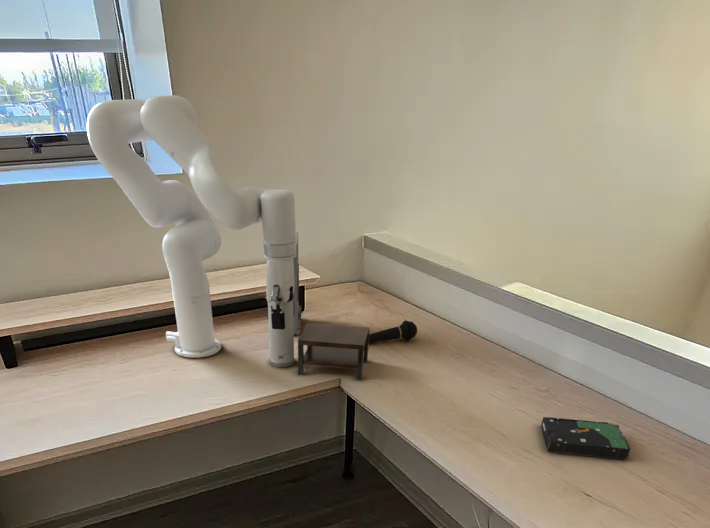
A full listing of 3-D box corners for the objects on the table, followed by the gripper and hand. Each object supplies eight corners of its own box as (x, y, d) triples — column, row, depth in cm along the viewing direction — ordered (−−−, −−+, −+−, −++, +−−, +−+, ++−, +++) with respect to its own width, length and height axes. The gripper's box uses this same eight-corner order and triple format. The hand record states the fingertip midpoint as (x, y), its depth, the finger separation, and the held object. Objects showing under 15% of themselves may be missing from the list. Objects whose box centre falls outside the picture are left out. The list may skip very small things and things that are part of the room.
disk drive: (546, 454, 110) (627, 460, 107) (550, 441, 108) (632, 448, 106) (539, 427, 118) (614, 433, 116) (542, 416, 117) (618, 421, 114)
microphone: (350, 357, 155) (418, 343, 157) (351, 341, 151) (421, 326, 152) (345, 345, 158) (411, 330, 160) (345, 328, 154) (414, 314, 156)
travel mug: (285, 370, 142) (283, 290, 130) (265, 363, 145) (261, 285, 133) (300, 361, 146) (299, 284, 134) (280, 355, 149) (278, 279, 137)
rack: (298, 374, 140) (297, 340, 134) (308, 355, 149) (308, 322, 144) (361, 380, 137) (363, 345, 132) (367, 360, 146) (369, 327, 141)
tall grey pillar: (300, 335, 161) (300, 243, 146) (279, 335, 161) (277, 243, 147) (301, 318, 172) (300, 232, 158) (281, 318, 172) (279, 232, 158)
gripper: (274, 240, 137) (277, 310, 146) (254, 258, 123) (259, 333, 133) (303, 241, 135) (305, 311, 145) (287, 259, 121) (290, 335, 131)
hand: (283, 321), depth 139 cm, fingers open, 9 cm apart
